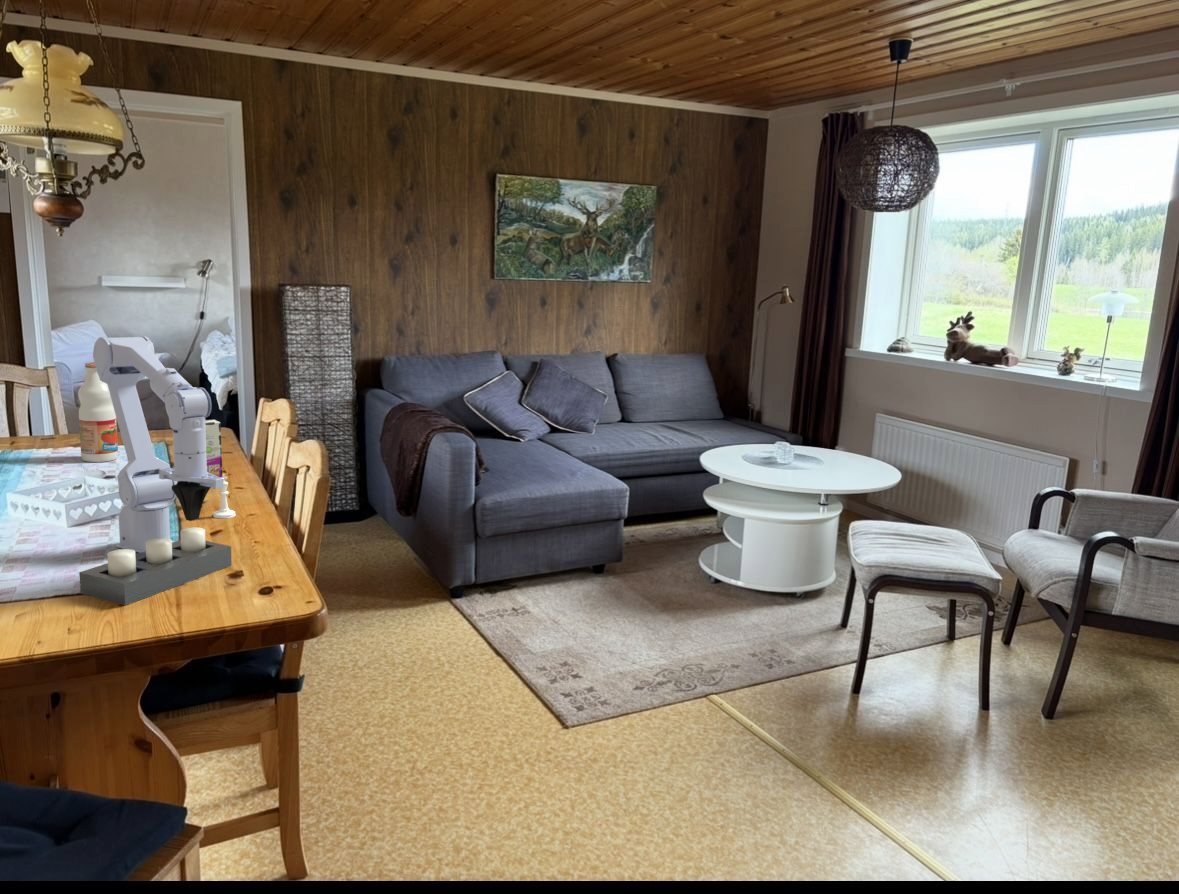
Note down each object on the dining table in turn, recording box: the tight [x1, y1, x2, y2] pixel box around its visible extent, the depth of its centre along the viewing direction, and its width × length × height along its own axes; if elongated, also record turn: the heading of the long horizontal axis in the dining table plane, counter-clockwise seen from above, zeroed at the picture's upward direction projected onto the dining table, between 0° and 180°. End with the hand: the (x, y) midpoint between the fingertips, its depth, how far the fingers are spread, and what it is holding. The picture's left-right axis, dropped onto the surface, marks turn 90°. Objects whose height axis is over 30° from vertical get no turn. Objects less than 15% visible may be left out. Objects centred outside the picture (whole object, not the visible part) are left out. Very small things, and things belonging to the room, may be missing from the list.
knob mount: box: [78, 539, 232, 606], centre depth 163 cm, size 11×24×4 cm, turn 158°
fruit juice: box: [77, 362, 119, 463], centre depth 248 cm, size 9×9×28 cm
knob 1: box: [107, 548, 136, 578], centre depth 155 cm, size 4×4×4 cm
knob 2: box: [180, 527, 206, 553], centre depth 170 cm, size 4×4×4 cm
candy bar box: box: [205, 419, 223, 477], centre depth 232 cm, size 11×5×16 cm, turn 129°
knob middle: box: [146, 538, 173, 565], centre depth 162 cm, size 4×4×4 cm
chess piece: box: [213, 473, 237, 520], centre depth 204 cm, size 5×5×10 cm
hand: (192, 519), depth 169 cm, fingers closed
